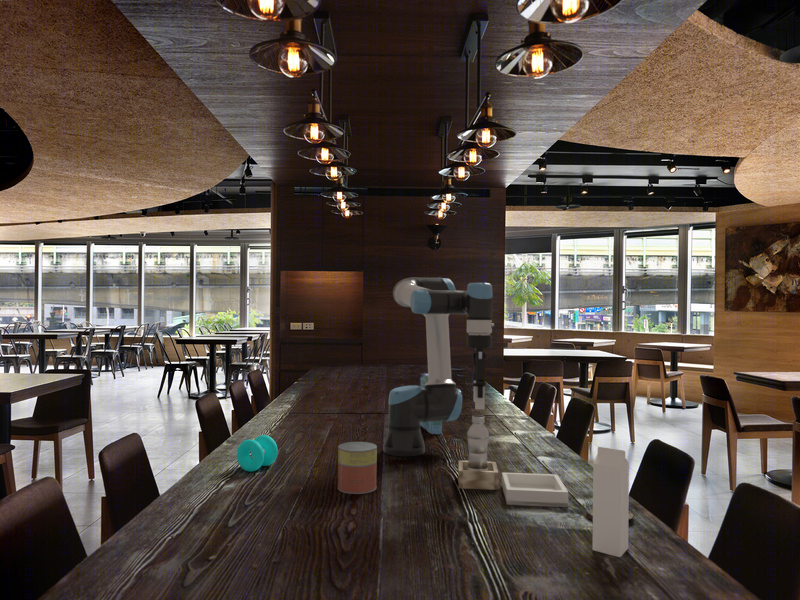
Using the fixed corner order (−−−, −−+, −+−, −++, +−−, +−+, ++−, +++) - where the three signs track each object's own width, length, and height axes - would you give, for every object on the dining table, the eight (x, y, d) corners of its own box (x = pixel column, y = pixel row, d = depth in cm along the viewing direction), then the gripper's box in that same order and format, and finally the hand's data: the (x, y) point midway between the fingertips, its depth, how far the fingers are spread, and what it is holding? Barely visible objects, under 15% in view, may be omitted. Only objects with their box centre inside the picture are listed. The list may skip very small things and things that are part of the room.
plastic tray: (506, 504, 153) (507, 489, 153) (501, 486, 169) (502, 472, 169) (568, 507, 152) (568, 492, 152) (557, 488, 168) (557, 474, 168)
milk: (600, 541, 130) (601, 443, 130) (628, 548, 126) (629, 448, 127) (592, 550, 125) (592, 448, 125) (620, 558, 121) (621, 453, 122)
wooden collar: (458, 488, 167) (458, 470, 167) (458, 476, 178) (458, 460, 178) (498, 489, 166) (498, 472, 166) (495, 478, 177) (495, 461, 177)
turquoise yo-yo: (279, 466, 187) (279, 435, 187) (259, 474, 178) (260, 442, 178) (254, 462, 191) (255, 432, 191) (234, 470, 182) (234, 438, 182)
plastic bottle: (488, 487, 168) (489, 418, 168) (465, 485, 169) (466, 417, 170) (489, 480, 174) (490, 414, 175) (467, 479, 176) (467, 413, 176)
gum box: (419, 425, 255) (419, 373, 255) (430, 424, 256) (430, 373, 257) (431, 434, 236) (431, 379, 236) (442, 434, 237) (443, 378, 238)
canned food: (382, 484, 170) (382, 443, 170) (367, 495, 159) (368, 452, 159) (347, 480, 173) (347, 440, 174) (330, 491, 163) (331, 448, 163)
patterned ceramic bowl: (610, 530, 137) (610, 499, 137) (574, 514, 148) (574, 485, 148) (645, 522, 143) (645, 492, 143) (608, 507, 153) (608, 479, 153)
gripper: (495, 336, 160) (494, 412, 159) (489, 332, 184) (488, 399, 184) (467, 335, 160) (467, 412, 160) (465, 332, 185) (465, 398, 185)
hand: (478, 405), depth 172 cm, fingers open, 13 cm apart
